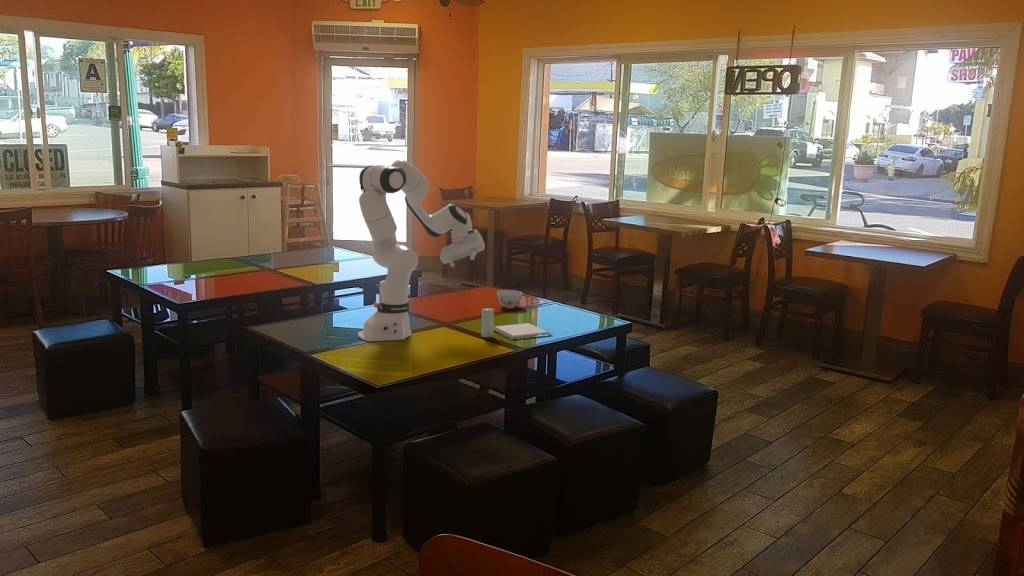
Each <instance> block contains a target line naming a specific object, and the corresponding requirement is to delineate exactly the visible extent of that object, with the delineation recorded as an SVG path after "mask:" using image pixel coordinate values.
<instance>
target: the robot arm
mask: <svg viewBox="0 0 1024 576" xmlns="http://www.w3.org/2000/svg"><path fill="white" fill-rule="evenodd" d="M358 177H359V178H358V179H359V185H360V191H361V192H362V193H361V194H360V196H359V198H358V199H359V200H358V201H359V208H360V211H361V214H362V217H363V219H364V222H365V224H366V227H367V229H368V231H369V234H370V236H371V240H372V244H373V249H372V251H371V252H372V254H371V255H372V259H373V261H374V262H375V263H376V264H378V265H379V266H380V267H381V268H385V269H387V273H386V277H385V279H384V280H385V281H384V282H383V283H382V302H381V303H379V302H374V303H373V307H374V308H376V312H374V313H373V314H372V315H371V316H369V317H367V319H366V320H365V321H364V324H363V328H362V330H361V331H358V333H357V337H358V338H359V339H361V340H363V341H366V342H381V341H383V342H384V341H401V340H406V338H408V337H409V338H410V337H411V336H412V335H413V333H412V330H411V326H410V320H409V319H410V318H409V315H410V302H409V284H410V283H409V282H410V279H411V276H412V273H413V271H414V270H415V269H416V267H417V266H418V263H419V257H418V256H419V255H418V254H417V252H416V251H415V250H414V249H412V248H410V247H409V246H408V245H407V246H406V245H404V244H400V242H399V243H398V241H397V240H398V239H397V236H396V232H397V230H398V227H397V224H396V221H395V219H394V217H393V214H392V211H391V209H390V207H389V205H388V203H387V199H386V198H387V194H396V193H397V192H399V191H400V190H401V191H402V192H403V193H404V195H405V196H404V201H405V204H406V206H407V207H408V208H409V210H410V212H411V213H412V214H413V216H414V217H415V218H416V219H417V221H419V223H420V224H421V226H422V227H423V229H424V230H425V232H426V234H427V235H428V236H430V237H432V238H440V237H441V236H443V235H444V234H446V232H448V231H450V230H452V236H451V237H452V238H451V239H452V240H451V241H452V243H451V244H449V245H446V246H444V247H443V248H442V249H441V250H440V255H439V259H440V261H441V262H442V264H444V265H447V264H449V266H450V267H451V268H453V267H455V266H456V263H455V262H454V261H457V260H460V259H464V258H465V257H468V256H469V259H470V260H471V261H473V260H475V258H476V256H477V254H478V253H479V252H483V251H485V248H486V246H485V241H484V239H483V237H482V234H481V233H480V232H479V231H478V230H477V229H473V223H472V222H473V221H472V218H471V215H470V213H468V212H466V211H465V210H464V209H463V208H462V207H461V206H459V205H457V204H454V203H449V204H447V205H445V206H444V207H442V208H441V209H439V210H438V211H436V212H434V213H432V214H429V213H428V212H427V211H426V209H425V208H424V207H423V206H422V205H421V204H422V202H423V200H424V199H425V198H426V197H427V195H428V193H429V190H430V183H429V180H428V178H427V177H426V176H425V174H424V173H422V172H421V171H420V170H419V169H418V168H417V167H416V166H415V165H413V164H411V163H410V162H408V161H407V160H404V159H397V160H395V161H394V162H393V163H392V164H391V165H390V166H389V165H388V166H387V165H369V166H365V167H364V168H363V169H362V170H361V171H360V172H359V176H358Z"/></svg>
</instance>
